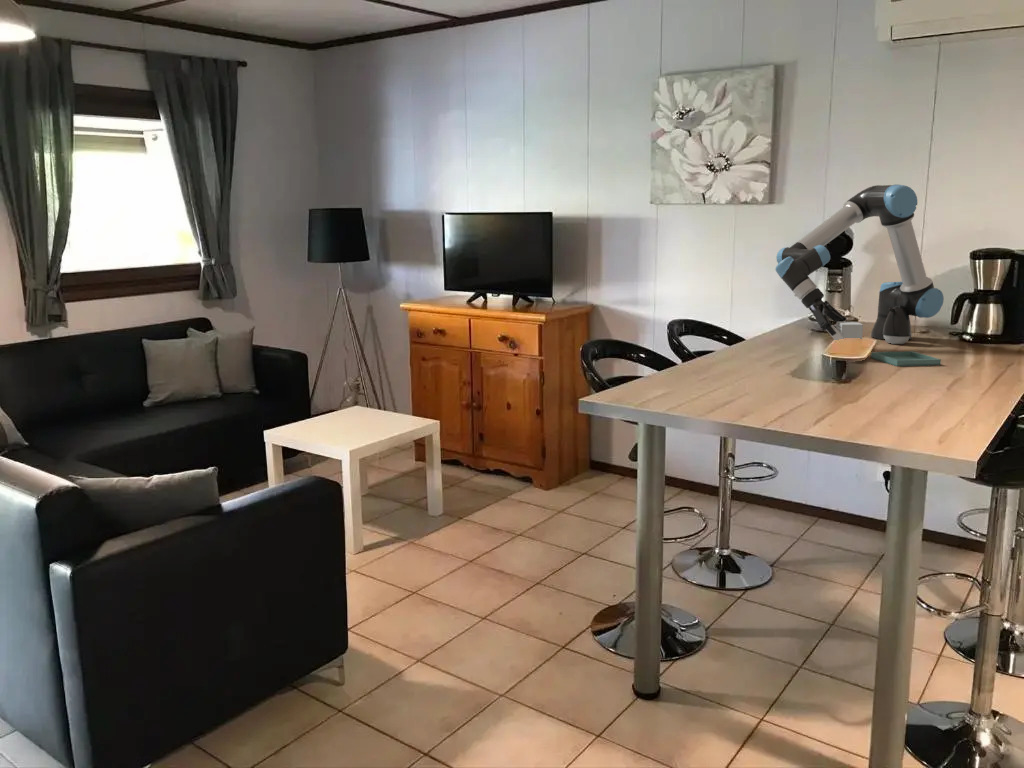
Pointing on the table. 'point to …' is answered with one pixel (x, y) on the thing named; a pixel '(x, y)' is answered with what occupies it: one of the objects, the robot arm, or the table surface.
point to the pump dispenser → (897, 326)
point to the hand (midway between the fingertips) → (847, 339)
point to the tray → (905, 358)
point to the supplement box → (850, 329)
